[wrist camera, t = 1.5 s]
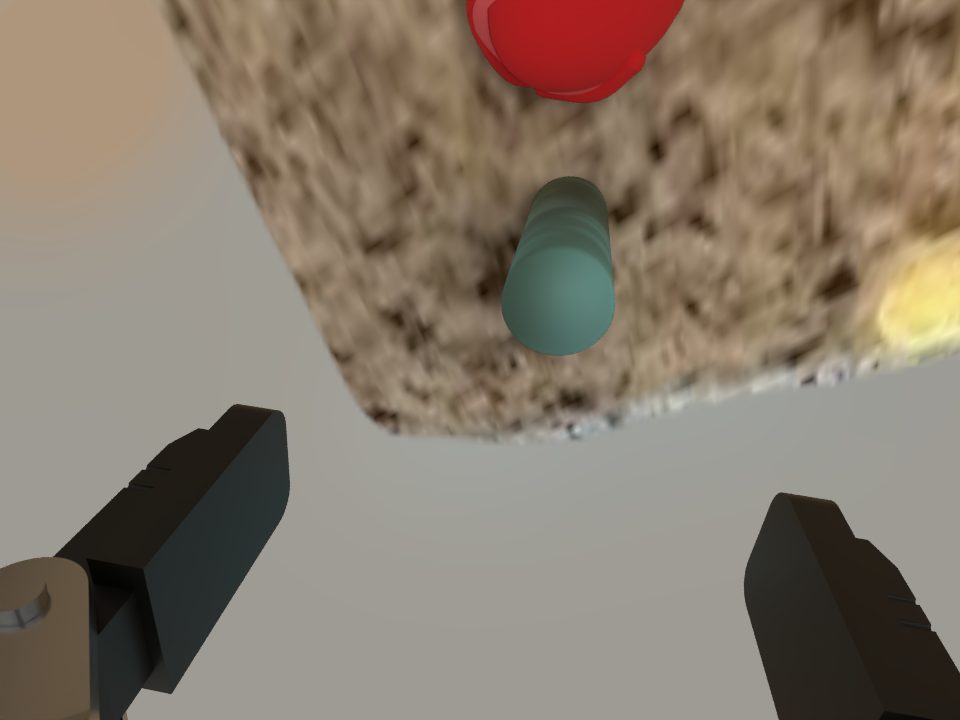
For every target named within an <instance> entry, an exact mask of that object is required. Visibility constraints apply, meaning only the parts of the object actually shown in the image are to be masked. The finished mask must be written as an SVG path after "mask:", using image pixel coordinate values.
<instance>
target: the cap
mask: <svg viewBox="0 0 960 720" xmlns="http://www.w3.org/2000/svg"><path fill="white" fill-rule="evenodd" d="M683 2H684V0H467V15H468V21H469V25H470V28H471V31H472V33H473V36H474V38H475V40H476V42H477V44H478V45H479V47H480V49H481V50H482V52H483V54H484V55H485V57H486V58H487V60H488V61H489V63H490V64H491V65H492V67H493V68H494V69H495V70H496V71H497V72H498V73H499V74H500V75H501V76H502V77H503V78H504V79H505V80H506V81H508V82H510V83H511V84H514V85H517V86H521V87H532V88H534V90H535V92H536V93H537V94H538V95H539V96H541V97H543V98H550V99H556V100H562V101H568V102H576V103H589V102H595V101H599V100H602V99H604V98H607V97H608V96H610V95H612V94H613V93H615V92H616V91H617V90H618V89H620V88H621V87H622V86H623V85H624V84H625V83H626V82H628V81H629V80H630V79H631V78H632V77H633V76H634V75H635V74H637V73H638V72H639V71H640V70H641V69H642V67H643V66H644V64H645V58H646V56H645V55H646V54H648V53H649V52H650V51H651V49H652V48H653V47H654V46H655V45H656V44H657V43H658V42H659V40H660V39H661V38H662V37H663V35H664V34H665V33H666V31H667V30H668V28H669V27H670V25H671V24H672V22H673V20H674V18H675V17H676V15H677V14H678V12H679V11H680V9H681V7H682V5H683Z"/></svg>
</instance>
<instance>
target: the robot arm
mask: <svg viewBox="0 0 960 720" xmlns="http://www.w3.org/2000/svg"><path fill="white" fill-rule="evenodd" d="M289 479H290V478H289V463H288V449H287V433H286V421H285V417H284V415H283V413H282V412H281V411H278V410H271V409H265V408H259V407H253V406H247V405H241V404H236V405H233V406H231V407H230V408H229V409H228V410H227V412H225V413H224V414H223V416H222V417H221V418H220V419H219V420H218V421H217V422H216V423H215V424H214V425H213V426H212V427H211V428H210V429H209V430H205V429H199V428H198V429H196V430H194V431H193V432H191V433H189V434H187V435H185V436H183V437H181V438H179V439H177V440H175V441H174V442H172V443H170V444H168V445H167V446H166V447H165V448H164V449H163V450H162V451H161V452H160V453H159V454H158V455H157V456H156V457H155V458H154V459H153V460H152V461H151V462H150V463H149V464H148V465H147V468H146V470H141V471H140V473H138V474H137V475H136V476H135V477H134V478H133V479H132V480H131V481H130V482H129V486H128V488H123V489H122V490H121V491H120V492H119V493H118V494H117V495H116V496H115V497H114V498H113V499H112V500H111V501H110V502H109V503H108V504H107V505H106V506H105V507H104V508H103V509H102V510H101V511H100V512H99V513H98V514H96V516H94V517H93V518H92V519H91V521H89V522H88V523H87V524H86V525H85V526H84V527H83V528H82V529H81V530H80V531H79V532H78V533H77V534H76V535H75V536H74V537H73V538H72V539H71V540H70V541H69V542H68V543H67V544H66V545H65V546H64V547H63V548H62V549H61V550H60V551H59V552H58V553H57V554H56V555H55V556H53V557H42V558H33V559H28V560H24V561H20V562H17V563H13V564H11V565H8V566H6V567H3V568H1V569H0V720H128V719H127V714H126V710H127V709H128V707H129V706H130V704H131V703H132V702H133V700H134V699H135V697H136V696H137V694H138V693H139V691H140V690H141V688H144V689H149V690H154V691H159V692H164V693H168V694H172V692H173V691H174V689H175V688H176V686H177V684H178V683H179V681H180V680H181V678H182V676H183V675H184V673H185V672H186V670H187V669H188V667H189V665H190V664H191V662H192V661H193V659H194V657H195V656H196V654H197V653H198V651H199V649H200V647H201V646H202V645H203V643H204V642H205V640H206V638H207V637H208V635H209V634H210V632H211V630H212V629H213V627H214V625H215V624H216V622H217V621H218V619H219V618H220V616H221V614H222V613H223V611H224V610H225V608H226V607H227V605H228V603H229V602H230V600H231V599H232V597H233V595H234V594H235V592H236V590H237V589H238V587H239V586H240V584H241V583H242V581H243V579H244V578H245V576H246V575H247V573H248V572H249V570H250V568H251V567H252V565H253V563H254V562H255V560H256V559H257V557H258V556H259V554H260V552H261V551H262V549H263V548H264V546H265V544H266V543H267V541H268V540H269V538H270V536H271V535H272V533H273V532H274V530H275V529H276V527H277V525H278V524H279V522H280V520H281V519H282V516H283V514H284V512H285V509H286V505H287V502H288V497H289V490H290V480H289ZM744 595H745V602H746V606H747V610H748V614H749V617H750V621H751V624H752V628H753V631H754V635H755V638H756V641H757V645H758V648H759V652H760V655H761V659H762V662H763V666H764V669H765V673H766V676H767V680H768V683H769V686H770V690H771V694H772V697H773V701H774V704H775V707H776V711H777V715H778V718H779V720H960V673H959V671H958V669H957V667H956V666H955V664H954V662H953V661H952V659H951V658H950V656H949V654H948V652H947V651H946V649H945V647H944V646H943V644H942V642H941V641H940V639H939V637H938V635H937V634H936V632H933V631H931V624H930V622H929V620H928V618H927V617H926V615H925V613H924V612H923V610H922V608H921V607H920V605H916V603H915V600H916V598H915V597H914V595H913V593H912V592H911V590H910V588H909V587H908V585H907V583H906V582H905V580H904V578H903V577H902V575H901V573H900V571H899V570H898V568H897V567H896V566H895V565H894V564H893V563H892V562H891V561H890V560H888V559H887V558H886V557H885V556H884V555H883V554H882V553H881V552H880V551H879V550H878V549H877V548H876V547H875V546H874V545H873V544H871V542H869V541H868V540H865V539H859V538H855V536H854V534H853V532H852V531H851V529H850V527H849V525H848V523H847V522H846V520H845V518H844V516H843V514H842V512H841V511H840V509H839V507H838V506H837V504H836V503H835V502H833V501H831V500H825V499H819V498H813V497H807V496H801V495H794V494H788V493H782V492H781V493H778V494H777V495H776V496H775V497H774V499H773V500H772V503H771V505H770V507H769V510H768V512H767V515H766V518H765V520H764V523H763V525H762V528H761V530H760V533H759V535H758V538H757V540H756V543H755V545H754V548H753V550H752V553H751V556H750V558H749V560H748V563H747V567H746V571H745V578H744Z"/></svg>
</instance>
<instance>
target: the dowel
mask: <svg viewBox="0 0 960 720" xmlns="http://www.w3.org/2000/svg"><path fill="white" fill-rule="evenodd" d="M501 307H502V313H503V317H504V320H505V323H506V325H507V327H508V328H509V330H510V331H511V333H512V334H513V335H514V336H515V337H516V339H517V340H518V341H520V342H521V343H522V344H523V345H525V346H527V347H528V348H530V349H532V350H534V351H536V352H539V353H543V354H547V355H556V356H561V355H570V354H574V353H578V352H580V351H583V350H585V349H587V348H589V347H590V346H592V345H593V344H595V343H596V342H597V341H598V340H599V339H600V338H601V337H602V336H603V335H604V334H605V332H606V331H607V329H608V328H609V326H610V324H611V321H612V319H613V315H614V310H615V295H614V284H613V272H612V261H611V250H610V238H609V227H608V215H607V207H606V203H605V200H604V197H603V195H602V194H601V192H600V191H599V190H598V188H597V187H596V186H594V185H593V184H592V183H590V182H589V181H587V180H585V179H582V178H579V177H570V176H569V177H561V178H558V179H555V180H553V181H551V182H549V183H548V184H546V185H545V186H544V187H543V188H542V189H541V190H540V191H539V192H538V194H537V195H536V197H535V199H534V201H533V204H532V207H531V210H530V213H529V215H528V218H527V221H526V224H525V227H524V230H523V233H522V236H521V239H520V242H519V244H518V247H517V250H516V253H515V256H514V259H513V262H512V265H511V268H510V271H509V273H508V276H507V279H506V282H505V285H504V288H503V292H502V297H501Z"/></svg>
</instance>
